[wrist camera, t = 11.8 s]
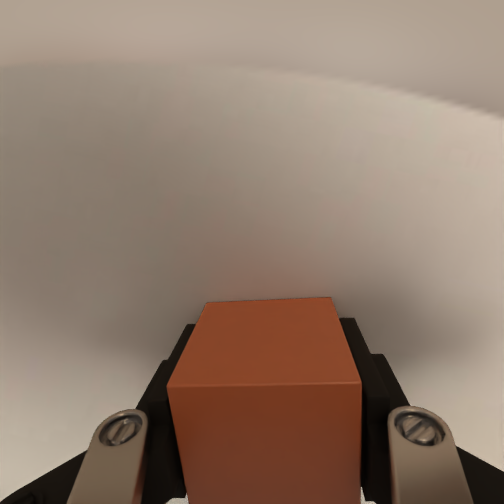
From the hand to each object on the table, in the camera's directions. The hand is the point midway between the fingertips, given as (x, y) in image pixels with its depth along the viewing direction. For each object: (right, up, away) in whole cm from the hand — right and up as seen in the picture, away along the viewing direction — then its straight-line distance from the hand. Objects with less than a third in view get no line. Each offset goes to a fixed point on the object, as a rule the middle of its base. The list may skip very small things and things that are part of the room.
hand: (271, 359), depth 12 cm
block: (0, 0, 0) cm, 0 cm away
